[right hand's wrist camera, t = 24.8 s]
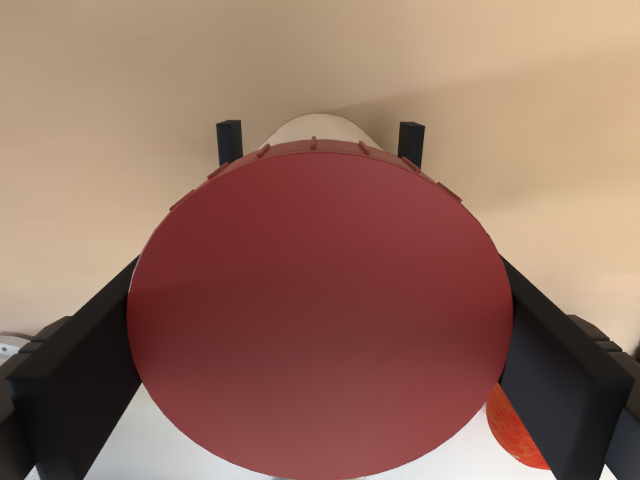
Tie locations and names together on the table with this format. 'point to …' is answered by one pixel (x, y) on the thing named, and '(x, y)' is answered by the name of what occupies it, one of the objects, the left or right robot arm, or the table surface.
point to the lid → (319, 312)
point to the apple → (512, 430)
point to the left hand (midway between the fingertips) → (320, 122)
